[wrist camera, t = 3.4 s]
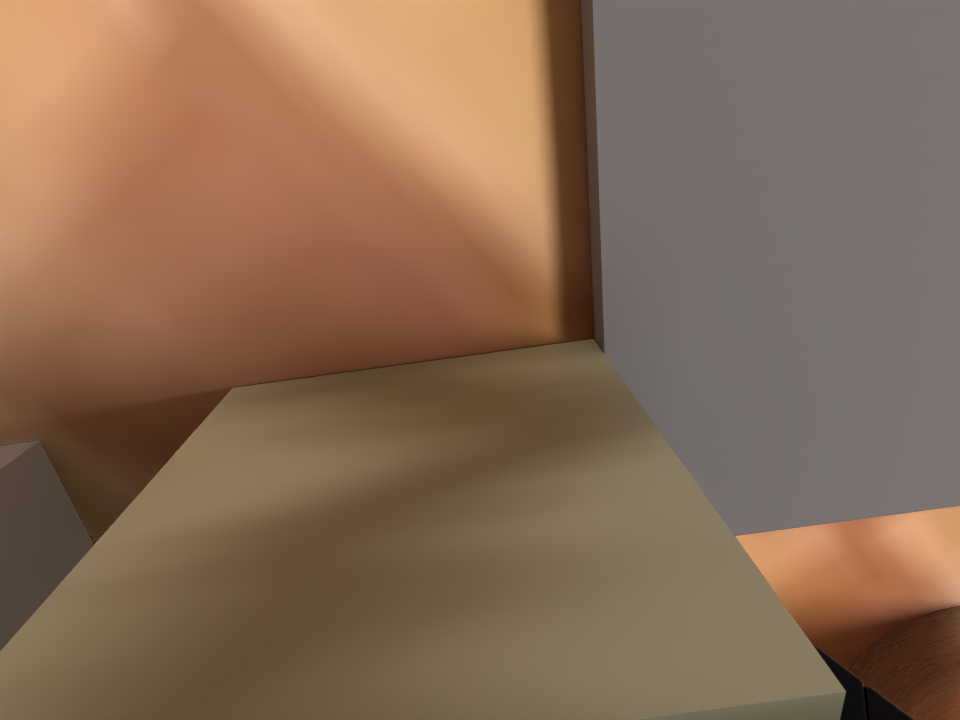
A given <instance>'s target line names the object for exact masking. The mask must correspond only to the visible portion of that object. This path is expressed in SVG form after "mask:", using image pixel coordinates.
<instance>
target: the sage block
mask: <svg viewBox="0 0 960 720" xmlns="http://www.w3.org/2000/svg"><path fill="white" fill-rule="evenodd" d="M845 694H846V691H845V689H844V688H843V686H842V685H841V684H840V682H839V681H838V679H837V678H836V677H835V675H834V674H833V673H832V671H831V670H830V668H829V667H828V666H827V664H826V663H825V661H824V660H823V659H822V657H821V656H820V654H819V653H818V652H817V650H816V649H815V647H814V646H813V645H812V643H811V642H810V640H809V639H808V638H807V636H806V635H805V633H804V632H803V631H802V629H801V628H800V626H799V625H798V624H797V622H796V621H795V619H794V618H793V617H792V615H791V614H790V612H789V611H788V610H787V608H786V607H785V606H784V604H783V603H782V601H781V600H780V599H779V597H778V596H777V594H776V593H775V592H774V590H773V589H772V587H771V586H770V585H769V583H768V582H767V580H766V579H765V578H764V576H763V575H762V573H761V572H760V571H759V569H758V568H757V566H756V565H755V564H754V562H753V561H752V559H751V558H750V557H749V555H748V554H747V552H746V551H745V550H744V548H743V547H742V545H741V544H740V543H739V541H738V540H737V539H736V537H735V536H734V534H733V533H732V532H731V530H730V529H729V527H728V526H727V525H726V523H725V522H724V520H723V519H722V518H721V516H720V515H719V513H718V512H717V511H716V509H715V508H714V506H713V505H712V504H711V502H710V501H709V499H708V498H707V497H706V495H705V494H704V492H703V491H702V490H701V488H700V487H699V485H698V484H697V483H696V481H695V480H694V478H693V477H692V476H691V474H690V473H689V472H688V470H687V469H686V467H685V466H684V465H683V463H682V462H681V460H680V459H679V458H678V456H677V455H676V453H675V452H674V451H673V449H672V448H671V446H670V445H669V444H668V442H667V441H666V439H665V438H664V437H663V435H662V434H661V432H660V431H659V430H658V428H657V427H656V425H655V424H654V423H653V421H652V420H651V418H650V417H649V416H648V414H647V413H646V411H645V410H644V409H643V407H642V406H641V405H640V403H639V402H638V400H637V399H636V398H635V396H634V395H633V393H632V392H631V391H630V389H629V388H628V386H627V385H626V384H625V382H624V381H623V379H622V378H621V377H620V375H619V374H618V372H617V371H616V370H615V368H614V367H613V365H612V364H611V363H610V361H609V360H608V358H607V357H606V356H605V354H604V353H603V351H602V350H601V349H600V347H599V346H598V345H597V343H596V342H595V340H594V339H588V340H581V341H574V342H566V343H559V344H552V345H544V346H537V347H529V348H522V349H515V350H507V351H500V352H493V353H485V354H478V355H471V356H463V357H456V358H448V359H441V360H434V361H426V362H419V363H412V364H404V365H397V366H390V367H382V368H375V369H368V370H360V371H353V372H345V373H338V374H331V375H323V376H316V377H309V378H301V379H294V380H287V381H279V382H272V383H264V384H257V385H250V386H242V387H235V388H232V389H231V390H230V391H229V392H228V394H227V395H226V396H225V397H224V398H223V399H222V400H221V402H220V403H219V404H218V405H217V406H216V407H215V408H214V409H213V411H212V412H211V413H210V414H209V415H208V416H207V417H206V419H205V420H204V421H203V422H202V423H201V424H200V425H199V427H198V428H197V429H196V430H195V431H194V432H193V433H192V434H191V436H190V437H189V438H188V439H187V440H186V441H185V442H184V444H183V445H182V446H181V447H180V448H179V449H178V450H177V451H176V453H175V454H174V455H173V456H172V457H171V458H170V459H169V461H168V462H167V463H166V464H165V465H164V466H163V467H162V468H161V470H160V471H159V472H158V473H157V474H156V475H155V476H154V478H153V479H152V480H151V481H150V482H149V483H148V484H147V486H146V487H145V488H144V489H143V490H142V491H141V492H140V493H139V495H138V496H137V497H136V498H135V499H134V500H133V501H132V503H131V504H130V505H129V506H128V507H127V508H126V509H125V510H124V512H123V513H122V514H121V515H120V516H119V517H118V518H117V520H116V521H115V522H114V523H113V524H112V525H111V526H110V527H109V529H108V530H107V531H106V532H105V533H104V534H103V535H102V537H101V538H100V539H99V540H98V541H97V542H96V543H95V545H94V546H93V547H92V548H91V549H90V550H89V551H88V552H87V554H86V555H85V556H84V557H83V558H82V559H81V560H80V562H79V563H78V564H77V565H76V566H75V567H74V568H73V569H72V571H71V572H70V573H69V574H68V575H67V576H66V577H65V579H64V580H63V581H62V582H61V583H60V584H59V585H58V587H57V588H56V589H55V590H54V591H53V592H52V593H51V594H50V596H49V597H48V598H47V599H46V600H45V601H44V602H43V604H42V605H41V606H40V607H39V608H38V609H37V610H36V611H35V613H34V614H33V615H32V616H31V617H30V618H29V619H28V621H27V622H26V623H25V624H24V625H23V626H22V627H21V628H20V630H19V631H18V632H17V633H16V634H15V635H14V636H13V638H12V639H11V640H10V641H9V642H8V643H7V644H6V646H5V647H4V648H3V649H2V650H1V651H0V720H840V717H841V713H842V708H843V703H844V699H845Z"/></svg>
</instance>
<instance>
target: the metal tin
mask: <svg viewBox="0 0 960 720" xmlns="http://www.w3.org/2000/svg"><path fill="white" fill-rule="evenodd" d="M849 671H850V672H851V673H853V674H854V675H855V676H857V677H858V678H859V679H861V680H862V681H863V683H864V687H865V686H870V687H872V688H873V689H875V690H876V691H877V692H879V693H880V694H881V695H883V696H884V697H885V698H887V699H888V700H889V701H891V702H892V703H893V704H895V705H896V706H897V707H899V708H900V709H901V710H903V711H904V712H905V713H907V714H908V715H909V716H911V717H912V718H914V719H915V720H960V606H958V607H952V608H948V609H945V610H941V611H937V612H934V613H931V614H929V615H926V616H923V617H920V618H918V619H916V620H914V621H912V622H909V623H907V624H905V625H903V626H902V627H900V628H898V629H896V630H894V631H893V632H891V633H890V634H888V635H887V636H885V637H884V638H882V639H881V640H879V641H878V642H877V643H876V644H874V645H873V646H872V647H870V648H869V649H868V650H867V651H866V652H865V653H864V654H863V655H862V656H861V657H860V658H859V659H858V660H857V661H856V663H855V664H854V665H853V666H852V668H851V669H850V670H849Z"/></svg>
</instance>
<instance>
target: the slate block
mask: <svg viewBox="0 0 960 720" xmlns="http://www.w3.org/2000/svg"><path fill="white" fill-rule="evenodd" d="M93 546H94V543H93V542H92V540H91V538H90V536H89V534H88V532H87V530H86V528H85V526H84V524H83V522H82V521H81V519H80V517H79V515H78V513H77V511H76V509H75V507H74V505H73V503H72V502H71V500H70V498H69V496H68V494H67V492H66V490H65V488H64V486H63V484H62V482H61V481H60V479H59V477H58V475H57V473H56V471H55V469H54V467H53V465H52V463H51V461H50V460H49V458H48V456H47V454H46V452H45V450H44V448H43V446H42V444H41V442H40V441H33V442H25V443H18V444H10V445H3V446H0V651H1V650H2V649H3V648H4V647H5V646H6V644H7V643H8V642H9V641H10V640H11V639H12V638H13V636H14V635H15V634H16V633H17V632H18V631H19V630H20V628H21V627H22V626H23V625H24V624H25V623H26V622H27V621H28V619H29V618H30V617H31V616H32V615H33V614H34V613H35V611H36V610H37V609H38V608H39V607H40V606H41V605H42V604H43V602H44V601H45V600H46V599H47V598H48V597H49V596H50V594H51V593H52V592H53V591H54V590H55V589H56V588H57V587H58V585H59V584H60V583H61V582H62V581H63V580H64V579H65V577H66V576H67V575H68V574H69V573H70V572H71V571H72V569H73V568H74V567H75V566H76V565H77V564H78V563H79V562H80V560H81V559H82V558H83V557H84V556H85V555H86V554H87V552H88V551H89V550H90V549H91V548H92V547H93Z"/></svg>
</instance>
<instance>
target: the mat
mask: <svg viewBox="0 0 960 720" xmlns="http://www.w3.org/2000/svg"><path fill="white" fill-rule="evenodd" d="M581 20H582V44H583V68H584V92H585V116H586V140H587V164H588V188H589V212H590V236H591V261H592V285H593V309H594V333H595V342H596V343H597V345H598V346H599V347H600V349H601V350H602V351H603V353H604V354H605V356H606V357H607V358H608V360H609V361H610V363H611V364H612V365H613V367H614V368H615V370H616V371H617V372H618V374H619V375H620V377H621V378H622V379H623V381H624V382H625V384H626V385H627V386H628V388H629V389H630V391H631V392H632V393H633V395H634V396H635V398H636V399H637V400H638V402H639V403H640V405H641V406H642V407H643V409H644V410H645V411H646V413H647V414H648V416H649V417H650V418H651V420H652V421H653V423H654V424H655V425H656V427H657V428H658V430H659V431H660V432H661V434H662V435H663V437H664V438H665V439H666V441H667V442H668V444H669V445H670V446H671V448H672V449H673V451H674V452H675V453H676V455H677V456H678V458H679V459H680V460H681V462H682V463H683V465H684V466H685V467H686V469H687V470H688V472H689V473H690V474H691V476H692V477H693V478H694V480H695V481H696V483H697V484H698V485H699V487H700V488H701V490H702V491H703V492H704V494H705V495H706V497H707V498H708V499H709V501H710V502H711V504H712V505H713V506H714V508H715V509H716V511H717V512H718V513H719V515H720V516H721V518H722V519H723V520H724V522H725V523H726V525H727V526H728V527H729V529H730V530H731V532H732V533H733V534H734V536H738V535H745V534H753V533H760V532H768V531H775V530H783V529H790V528H798V527H805V526H812V525H820V524H827V523H835V522H842V521H850V520H857V519H865V518H872V517H879V516H887V515H894V514H902V513H909V512H917V511H924V510H931V509H939V508H946V507H954V506H960V0H581Z"/></svg>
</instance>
